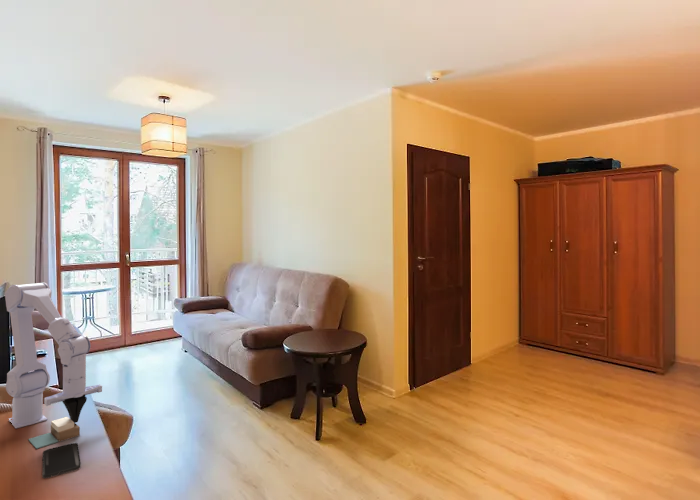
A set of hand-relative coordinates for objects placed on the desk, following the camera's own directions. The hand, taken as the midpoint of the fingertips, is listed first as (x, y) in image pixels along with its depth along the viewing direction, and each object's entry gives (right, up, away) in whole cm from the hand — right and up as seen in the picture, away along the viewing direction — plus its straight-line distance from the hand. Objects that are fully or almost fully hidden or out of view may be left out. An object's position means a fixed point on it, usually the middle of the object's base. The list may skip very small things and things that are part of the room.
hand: (74, 421), depth 121 cm
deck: (-1, -3, -2) cm, 4 cm away
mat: (-5, -3, -6) cm, 8 cm away
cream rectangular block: (-2, -1, -2) cm, 3 cm away
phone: (+8, -4, -16) cm, 18 cm away
